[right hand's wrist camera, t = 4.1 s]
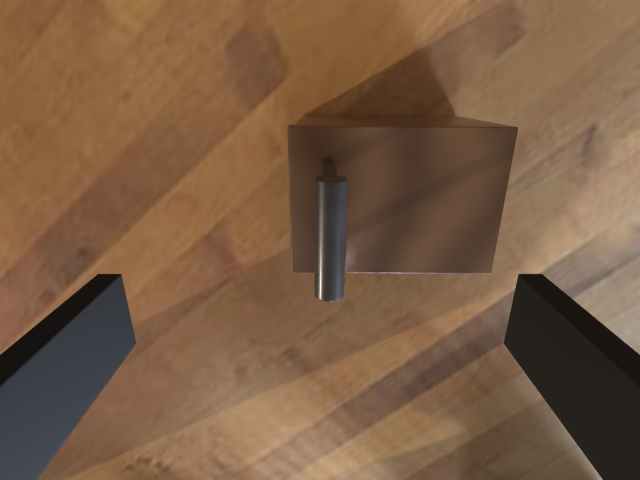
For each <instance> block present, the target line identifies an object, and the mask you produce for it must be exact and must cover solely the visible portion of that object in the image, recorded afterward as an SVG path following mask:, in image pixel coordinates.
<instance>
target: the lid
mask: <svg viewBox="0 0 640 480" xmlns="http://www.w3.org/2000/svg"><path fill="white" fill-rule="evenodd" d="M517 131H518V128H517V127H513V126H389V125H289V126H288V157H289V198H290V240H291V272H292V273H315V296H316V298H317V299H319V300H321V301H326V302H334V301H338V300H340V299H342V298H343V296H344V278H345V273H446V274H491V270H492V265H493V259H494V254H495V249H496V243H497V238H498V233H499V227H500V222H501V217H502V211H503V206H504V201H505V195H506V190H507V185H508V179H509V174H510V169H511V163H512V158H513V153H514V147H515V142H516V137H517Z"/></svg>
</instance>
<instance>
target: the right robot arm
mask: <svg viewBox="0 0 640 480" xmlns="http://www.w3.org/2000/svg"><path fill="white" fill-rule="evenodd" d="M135 344H136V341H135V336H134V331H133V327H132V322H131V317H130V313H129V308H128V303H127V298H126V294H125V289H124V284H123V280H122V275H121V274H98V275H96V276H95V277H94V278H93V279H92V280H90V281H89V282H88V283H87V284H86V285H84V286H83V287H82V288H81V289H79V290H78V291H77V292H76V293H75V294H73V295H72V296H71V297H70V298H69V299H67V300H66V301H65V302H64V303H63V304H61V305H60V306H59V307H58V308H57V309H55V310H54V311H53V312H52V313H50V314H49V315H48V316H47V317H46V318H44V319H43V320H42V321H41V322H40V323H38V324H37V325H36V326H35V327H34V328H32V329H31V330H30V331H29V332H27V333H26V334H25V335H24V336H23V337H21V338H20V339H19V340H18V341H17V342H15V343H14V344H13V345H12V346H11V347H9V348H8V349H7V350H6V351H4V352H3V353H2V354H1V355H0V480H37V479H38V478H39V476H40V475H41V473H42V472H43V471H44V469H45V468H46V467H47V465H48V464H49V462H50V461H51V460H52V458H53V457H54V456H55V454H56V453H57V451H58V450H59V449H60V447H61V446H62V445H63V443H64V442H65V440H66V439H67V438H68V436H69V435H70V434H71V432H72V431H73V429H74V428H75V427H76V425H77V424H78V423H79V421H80V420H81V418H82V417H83V416H84V414H85V413H86V412H87V410H88V409H89V407H90V406H91V405H92V403H93V402H94V401H95V399H96V398H97V396H98V395H99V394H100V392H101V391H102V390H103V388H104V387H105V385H106V384H107V383H108V381H109V380H110V379H111V377H112V376H113V375H114V373H115V372H116V370H117V369H118V368H119V366H120V365H121V364H122V362H123V361H124V359H125V358H126V357H127V355H128V354H129V353H130V351H131V350H132V348H133V347H134V346H135ZM504 344H505V346H506V347H507V348H508V350H509V351H510V353H511V354H512V355H513V357H514V358H515V359H516V361H517V362H518V364H519V365H520V366H521V368H522V369H523V370H524V372H525V373H526V375H527V376H528V377H529V379H530V380H531V381H532V383H533V384H534V385H535V387H536V388H537V390H538V391H539V392H540V394H541V395H542V396H543V398H544V399H545V401H546V402H547V403H548V405H549V406H550V407H551V409H552V410H553V412H554V413H555V414H556V416H557V417H558V418H559V420H560V421H561V423H562V424H563V425H564V427H565V428H566V429H567V431H568V432H569V434H570V435H571V436H572V438H573V439H574V440H575V442H576V443H577V445H578V446H579V447H580V449H581V450H582V451H583V453H584V454H585V456H586V457H587V458H588V460H589V461H590V462H591V464H592V465H593V467H594V468H595V469H596V471H597V472H598V473H599V475H600V476H601V478H602V479H603V480H640V355H639V354H638V353H637V352H636V351H634V350H633V349H632V348H631V347H629V346H628V345H627V344H626V343H625V342H623V341H622V340H621V339H620V338H619V337H617V336H616V335H615V334H614V333H613V332H611V331H610V330H609V329H608V328H606V327H605V326H604V325H603V324H602V323H600V322H599V321H598V320H597V319H596V318H594V317H593V316H592V315H591V314H590V313H588V312H587V311H586V310H585V309H583V308H582V307H581V306H580V305H579V304H577V303H576V302H575V301H574V300H573V299H571V298H570V297H569V296H568V295H567V294H565V293H564V292H563V291H562V290H561V289H559V288H558V287H557V286H556V285H554V284H553V283H552V282H551V281H550V280H548V279H547V278H546V277H545V276H544V275H542V274H519V275H518V280H517V284H516V289H515V294H514V298H513V303H512V308H511V313H510V317H509V322H508V327H507V331H506V336H505V341H504Z"/></svg>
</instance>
